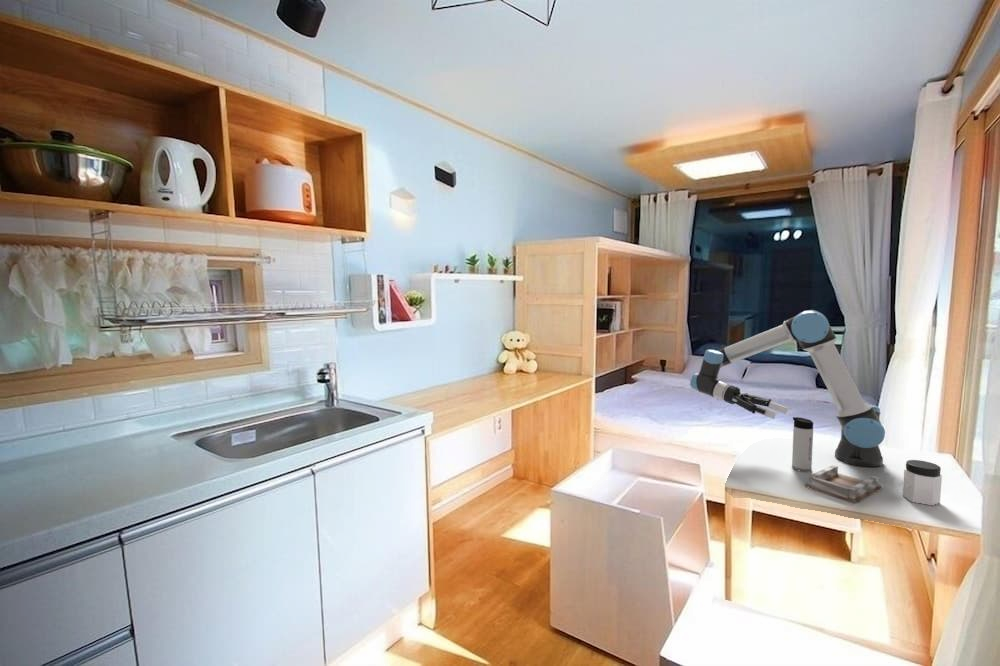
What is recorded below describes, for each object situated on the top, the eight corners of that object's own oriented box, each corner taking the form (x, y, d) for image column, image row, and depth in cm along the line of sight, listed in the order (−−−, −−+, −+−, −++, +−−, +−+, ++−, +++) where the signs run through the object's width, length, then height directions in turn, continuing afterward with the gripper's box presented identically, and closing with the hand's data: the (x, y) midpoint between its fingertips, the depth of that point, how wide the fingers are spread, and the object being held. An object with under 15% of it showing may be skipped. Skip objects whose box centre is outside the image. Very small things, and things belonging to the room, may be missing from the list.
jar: (896, 493, 151) (898, 458, 150) (923, 494, 150) (926, 459, 149) (917, 505, 142) (920, 469, 141) (946, 506, 141) (949, 470, 140)
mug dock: (832, 474, 167) (832, 463, 167) (881, 488, 154) (882, 477, 154) (804, 486, 157) (805, 475, 157) (855, 503, 144) (855, 491, 144)
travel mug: (789, 464, 177) (791, 415, 175) (809, 466, 174) (811, 417, 173) (792, 470, 171) (794, 419, 169) (813, 473, 169) (815, 421, 167)
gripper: (736, 397, 201) (788, 417, 185) (712, 404, 184) (766, 426, 169) (741, 382, 199) (794, 400, 184) (717, 387, 182) (772, 408, 167)
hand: (781, 413), depth 176 cm, fingers open, 13 cm apart
